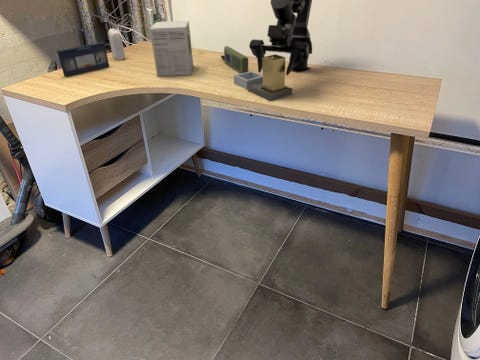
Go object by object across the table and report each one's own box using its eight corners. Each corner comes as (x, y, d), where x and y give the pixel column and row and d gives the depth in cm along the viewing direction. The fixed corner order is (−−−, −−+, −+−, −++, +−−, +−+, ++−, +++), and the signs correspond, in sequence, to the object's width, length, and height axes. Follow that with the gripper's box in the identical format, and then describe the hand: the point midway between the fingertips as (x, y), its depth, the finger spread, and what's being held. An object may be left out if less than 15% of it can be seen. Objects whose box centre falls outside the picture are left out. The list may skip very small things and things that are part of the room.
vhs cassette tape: (66, 77, 148) (58, 51, 142) (63, 76, 150) (56, 50, 144) (110, 67, 157) (104, 43, 152) (107, 66, 159) (102, 41, 154)
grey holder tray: (248, 91, 127) (247, 85, 126) (269, 85, 131) (269, 79, 130) (269, 101, 118) (269, 95, 117) (292, 94, 122) (292, 88, 121)
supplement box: (190, 75, 144) (185, 27, 135) (156, 76, 144) (149, 28, 135) (194, 65, 155) (189, 20, 146) (162, 66, 156) (155, 21, 146)
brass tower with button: (274, 90, 126) (275, 53, 120) (284, 94, 123) (285, 56, 116) (262, 94, 124) (262, 56, 117) (272, 98, 120) (272, 59, 114)
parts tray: (252, 79, 137) (252, 70, 136) (265, 84, 132) (265, 76, 130) (234, 83, 134) (233, 75, 132) (246, 89, 128) (246, 80, 126)
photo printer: (126, 59, 167) (120, 30, 161) (117, 61, 166) (110, 31, 159) (121, 54, 175) (115, 26, 168) (112, 56, 173) (105, 27, 167)
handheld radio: (241, 76, 142) (218, 60, 161) (249, 75, 143) (225, 59, 163) (241, 58, 138) (218, 44, 158) (249, 57, 140) (225, 43, 159)
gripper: (250, 12, 117) (238, 57, 114) (309, 14, 111) (297, 61, 108) (259, 33, 127) (248, 75, 125) (314, 36, 121) (303, 80, 118)
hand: (272, 73), depth 119 cm, fingers open, 9 cm apart
